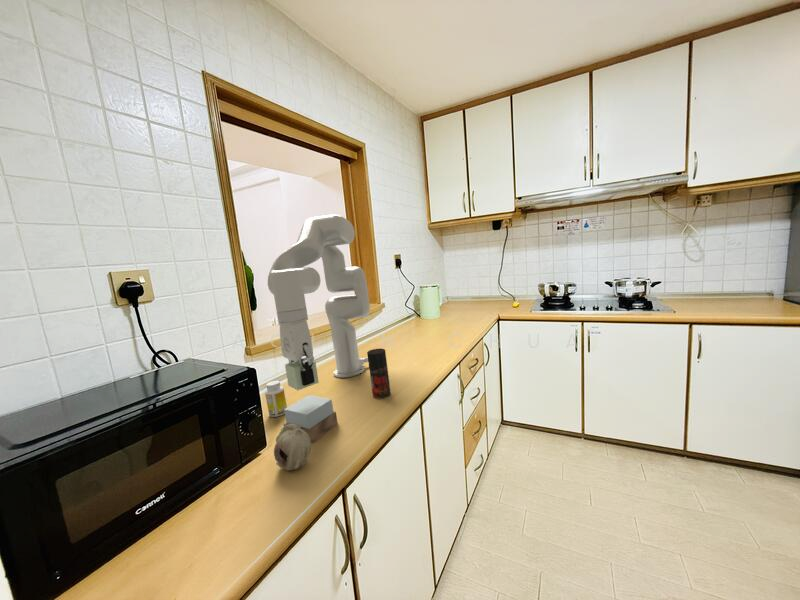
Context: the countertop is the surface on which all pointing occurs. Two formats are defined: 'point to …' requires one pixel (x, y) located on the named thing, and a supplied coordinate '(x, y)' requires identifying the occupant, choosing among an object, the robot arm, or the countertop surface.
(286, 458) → the garlic bulb
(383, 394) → the deodorant
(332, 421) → the walnut block
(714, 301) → the countertop surface
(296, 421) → the grey-blue block
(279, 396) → the supplement bottle
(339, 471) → the countertop surface
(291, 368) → the sage cube
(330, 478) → the countertop surface
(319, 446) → the countertop surface
